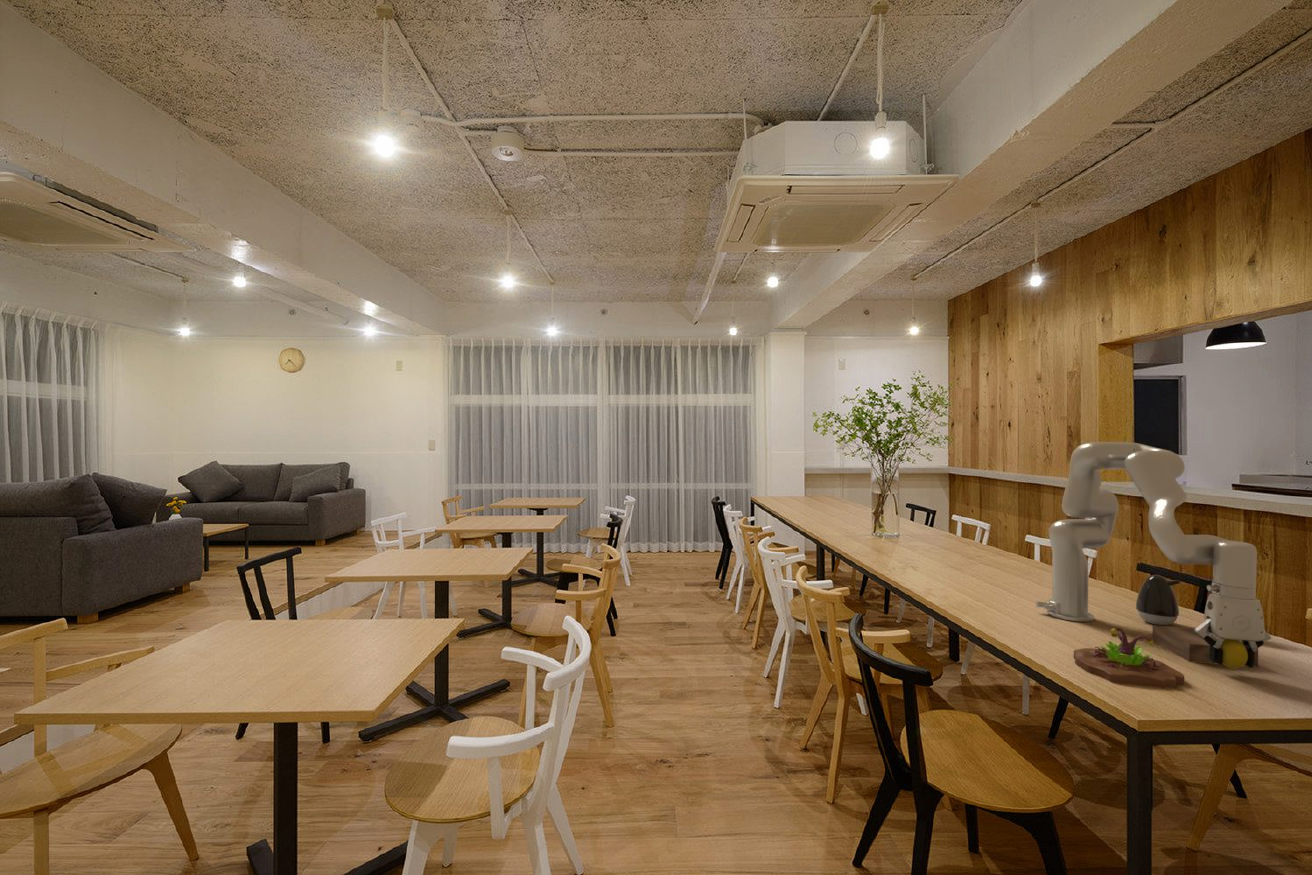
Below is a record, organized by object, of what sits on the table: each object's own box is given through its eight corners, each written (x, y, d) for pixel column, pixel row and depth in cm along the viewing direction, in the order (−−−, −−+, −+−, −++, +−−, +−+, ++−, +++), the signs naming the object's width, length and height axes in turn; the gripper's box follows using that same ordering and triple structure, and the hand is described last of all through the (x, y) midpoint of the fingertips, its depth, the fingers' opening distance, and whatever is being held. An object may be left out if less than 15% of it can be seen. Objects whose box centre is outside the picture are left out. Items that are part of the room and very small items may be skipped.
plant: (1056, 655, 152) (1057, 614, 152) (1132, 657, 151) (1132, 615, 151) (1112, 688, 132) (1113, 640, 132) (1200, 691, 131) (1200, 642, 131)
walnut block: (1189, 663, 148) (1189, 643, 148) (1152, 642, 162) (1152, 625, 162) (1258, 668, 145) (1258, 648, 145) (1214, 647, 159) (1214, 629, 159)
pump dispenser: (1180, 630, 172) (1181, 580, 172) (1135, 623, 178) (1136, 575, 178) (1179, 622, 179) (1179, 574, 179) (1136, 615, 186) (1136, 569, 186)
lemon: (1242, 676, 136) (1243, 643, 136) (1211, 667, 141) (1212, 635, 141) (1251, 671, 139) (1252, 639, 139) (1220, 663, 144) (1221, 632, 144)
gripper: (1203, 593, 138) (1201, 666, 138) (1289, 598, 134) (1286, 674, 134) (1182, 584, 145) (1180, 654, 146) (1263, 589, 141) (1260, 661, 142)
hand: (1231, 663), depth 140 cm, fingers closed on lemon, 5 cm apart
